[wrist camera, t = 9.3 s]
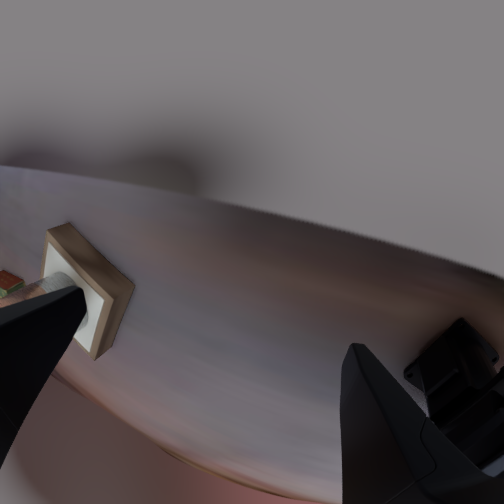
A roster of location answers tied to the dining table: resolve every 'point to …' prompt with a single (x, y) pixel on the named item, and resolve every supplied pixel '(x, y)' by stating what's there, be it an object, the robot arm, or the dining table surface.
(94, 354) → the board
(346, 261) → the dining table surface
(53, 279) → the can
